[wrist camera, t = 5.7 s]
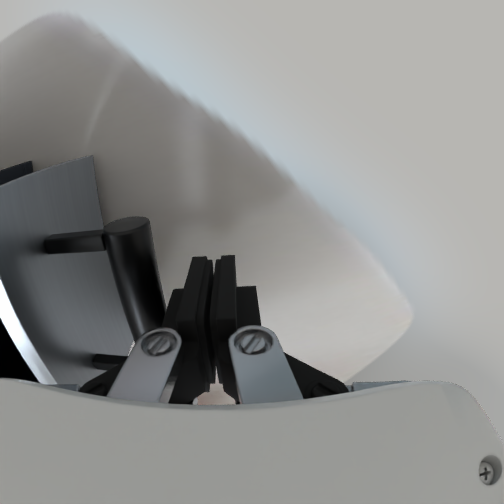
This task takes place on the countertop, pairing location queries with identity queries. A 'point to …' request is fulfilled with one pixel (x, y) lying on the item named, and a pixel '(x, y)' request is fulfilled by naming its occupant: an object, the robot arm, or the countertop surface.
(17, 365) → the drawer
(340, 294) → the countertop surface
